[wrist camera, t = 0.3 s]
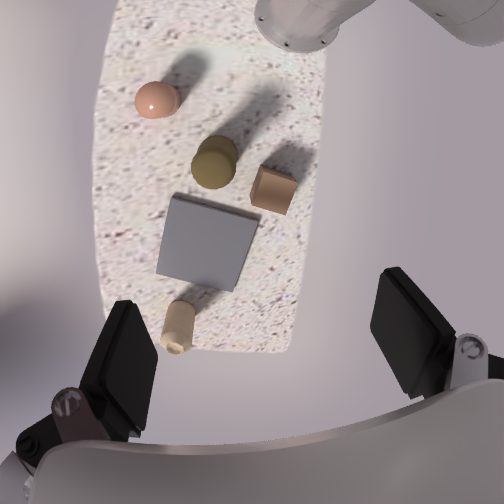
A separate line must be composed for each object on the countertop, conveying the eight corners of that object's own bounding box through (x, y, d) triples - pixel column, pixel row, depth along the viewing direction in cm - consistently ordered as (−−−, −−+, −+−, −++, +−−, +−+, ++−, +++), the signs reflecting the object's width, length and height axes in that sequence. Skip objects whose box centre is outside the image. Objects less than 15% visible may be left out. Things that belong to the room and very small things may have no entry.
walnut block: (260, 164, 40) (263, 171, 36) (290, 174, 41) (298, 183, 37) (249, 194, 42) (251, 205, 38) (279, 204, 43) (285, 215, 39)
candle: (174, 295, 50) (165, 333, 42) (200, 307, 52) (196, 346, 43) (163, 314, 52) (154, 351, 44) (188, 325, 54) (183, 363, 45)
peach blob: (153, 82, 33) (141, 78, 27) (185, 89, 34) (177, 85, 29) (144, 114, 35) (130, 115, 30) (175, 120, 36) (166, 122, 31)
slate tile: (172, 196, 41) (170, 198, 40) (257, 219, 44) (258, 222, 43) (157, 270, 47) (155, 273, 47) (232, 288, 50) (232, 292, 50)
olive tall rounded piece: (241, 139, 38) (245, 148, 29) (233, 178, 41) (234, 200, 31) (200, 132, 37) (190, 139, 27) (193, 171, 40) (181, 191, 30)
